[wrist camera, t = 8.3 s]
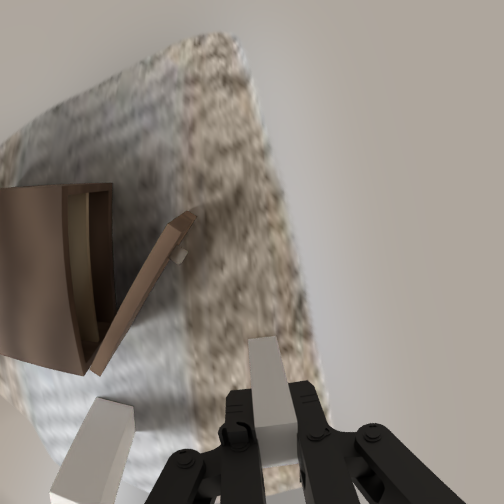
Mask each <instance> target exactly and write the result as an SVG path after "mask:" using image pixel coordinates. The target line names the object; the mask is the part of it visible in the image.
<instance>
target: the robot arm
mask: <svg viewBox="0 0 504 504" xmlns="http://www.w3.org/2000/svg"><path fill="white" fill-rule="evenodd" d="M248 347H249V361H250V374H251V387H252V389H243V390H232V391H230V393H229V394H228V396H227V397H226V414H225V423H224V424H223V425H222V426H221V427H220V428H219V431H218V435H219V439H220V442H221V445H220V446H219V447H217V448H216V449H214V450H211V451H208V452H204V453H201V454H200V453H199V452H198V451H196V450H193V449H182V450H178V451H176V452H175V453H173V454H172V455H171V456H170V457H169V459H168V461H167V463H166V465H165V467H164V468H163V470H162V472H161V474H160V476H159V478H158V480H157V481H156V483H155V485H154V487H153V489H152V491H151V492H150V494H149V496H148V498H147V500H146V502H145V503H144V504H214V503H215V500H216V497H217V496H220V495H221V498H220V504H266V497H265V487H264V478H263V472H262V468H269V467H277V466H285V465H291V464H298V461H299V466H300V482H302V487H303V491H304V496H305V500H306V504H360V502H359V499H358V496H357V493H356V490H355V488H354V485H353V483H354V484H355V486H356V487H357V488H358V490H359V491H360V492H361V493H362V495H363V496H364V497H365V499H366V500H367V501H368V502H369V504H466V503H465V502H464V501H462V500H461V499H460V498H459V497H458V496H457V495H456V494H455V493H454V492H453V491H452V490H451V489H450V488H449V487H448V486H446V485H445V484H444V483H443V482H442V481H441V480H440V479H439V478H438V477H437V476H436V475H435V474H434V473H433V472H432V471H431V470H430V469H429V468H428V467H426V466H425V465H424V464H423V463H422V462H421V461H420V460H419V459H418V458H417V457H416V456H415V455H414V454H413V453H412V452H411V451H410V450H409V449H408V448H407V447H406V446H405V445H404V444H403V443H402V442H401V441H400V440H399V439H398V438H397V437H396V436H395V435H394V434H393V433H391V431H390V430H389V429H387V428H386V427H385V426H383V425H381V424H377V423H370V424H366V425H363V426H362V427H360V428H359V429H358V431H357V432H340V431H337V430H335V429H333V428H332V427H330V426H329V425H328V423H327V421H326V418H325V415H324V412H323V409H322V407H321V404H320V401H319V398H318V396H317V393H316V390H315V387H314V386H313V385H312V384H311V383H310V382H309V381H308V380H306V381H299V382H293V383H288V382H287V378H286V374H285V370H284V366H283V362H282V358H281V354H280V350H279V346H278V342H277V338H276V336H271V337H263V338H254V339H248Z"/></svg>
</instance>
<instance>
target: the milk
mask: <svg viewBox="0 0 504 504" xmlns="http://www.w3.org/2000/svg"><path fill="white" fill-rule="evenodd" d="M135 432H136V431H135V421H134V408H133V406H129V405H125V404H121V403H117V402H113V401H109V400H106V399H102V398H98V397H96V399H95V400H94V402H93V404H92V406H91V408H90V410H89V412H88V414H87V415H86V417H85V419H84V421H83V423H82V425H81V427H80V429H79V431H78V433H77V435H76V437H75V439H74V441H73V443H72V445H71V447H70V449H69V451H68V453H67V455H66V457H65V459H64V461H63V463H62V465H61V468H60V470H59V472H58V474H57V476H56V479H55V481H54V483H53V485H52V487H51V489H50V492H49V493H50V500H51V504H114V502H115V498H116V495H117V492H118V488H119V485H120V481H121V478H122V474H123V471H124V468H125V464H126V461H127V458H128V454H129V451H130V448H131V445H132V442H133V438H134V435H135Z"/></svg>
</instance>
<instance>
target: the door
mask: <svg viewBox="0 0 504 504" xmlns="http://www.w3.org/2000/svg"><path fill="white" fill-rule="evenodd" d="M196 217H197V216H195V215H194V214H192V213H191V212H189V211H186V212H184V213H183V214H181V215H180V216H178V217H177V218H175V219H174V220H172V221H171V222H169V223H168V224H167V226H166V227H165V229H164V230H163V232H162V234H161V235H160V237H159V239H158V240H157V242H156V244H155V246H154V247H153V249H152V251H151V252H150V254H149V256H148V257H147V259H146V261H145V263H144V264H143V266H142V268H141V270H140V272H139V273H138V275H137V277H136V279H135V280H134V282H133V284H132V286H131V288H130V290H129V291H128V293H127V295H126V297H125V299H124V301H123V303H122V305H121V306H120V308H119V310H118V312H117V314H116V316H115V318H114V320H113V322H112V324H111V326H110V328H109V330H108V332H107V334H106V336H105V338H104V340H103V342H102V344H101V346H100V348H99V350H98V352H97V354H96V357H95V359H94V361H93V363H92V365H91V367H90V370H91V371H92V372H94V373H95V374H97V375H98V376H101V374H102V373H103V371H104V369H105V368H106V366H107V364H108V363H109V361H110V359H111V358H112V356H113V354H114V353H115V351H116V349H117V348H118V346H119V345H120V343H121V341H122V340H123V338H124V337H125V335H126V333H127V332H128V330H129V329H130V327H131V325H132V323H133V321H134V320H135V318H136V316H137V314H138V312H139V311H140V309H141V307H142V305H143V304H144V302H145V300H146V299H147V297H148V295H149V293H150V292H151V290H152V288H153V287H154V285H155V283H156V282H157V280H158V278H159V277H160V275H161V273H162V272H163V270H164V268H165V267H166V265H167V263H168V262H169V260H170V259H171V260H172V261H174V262H175V263H177V264H178V265H180V264H181V263H182V261H183V260H184V258H185V256H186V255H187V253H188V251H186V250H185V249H183V248H182V247H180V246H179V244H180V242H181V241H182V239H183V238H184V236H185V234H186V233H187V231H188V230H189V228H190V227H191V225H192V223H193V222H194V220H195V219H196Z"/></svg>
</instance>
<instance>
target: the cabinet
mask: <svg viewBox="0 0 504 504" xmlns="http://www.w3.org/2000/svg"><path fill="white" fill-rule="evenodd" d="M116 314H117V308H116V297H115V285H114V270H113V248H112V183H82V184H56V185H38V186H23V187H11V188H1V189H0V354H1V355H4V356H8V357H11V358H14V359H17V360H20V361H24V362H27V363H31V364H34V365H38V366H42V367H46V368H49V369H53V370H58V371H62V372H66V373H70V374H75V375H80V376H84V375H85V374H86V372H87V371H88V369H89V368H90V366H91V365H92V363H93V361H94V359H95V357H96V354H97V352H98V350H99V348H100V346H101V344H102V342H103V340H104V338H105V336H106V334H107V332H108V330H109V328H110V326H111V324H112V322H113V320H114V318H115V316H116Z"/></svg>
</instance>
